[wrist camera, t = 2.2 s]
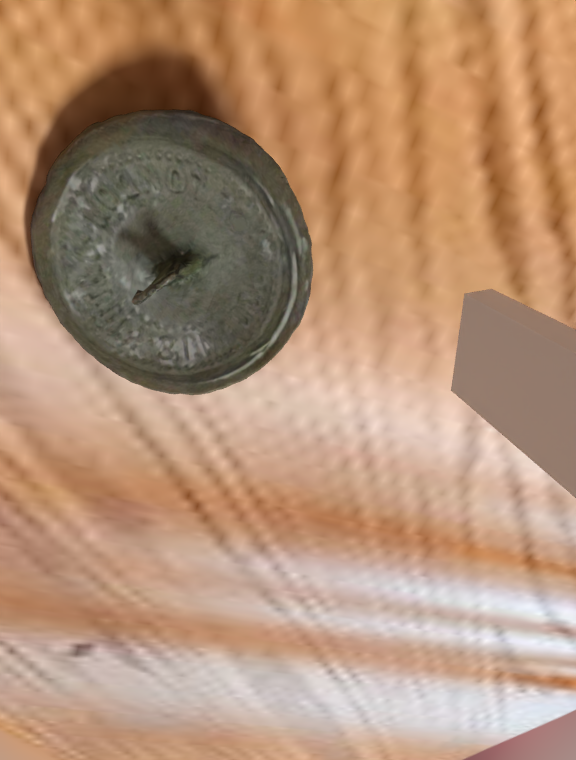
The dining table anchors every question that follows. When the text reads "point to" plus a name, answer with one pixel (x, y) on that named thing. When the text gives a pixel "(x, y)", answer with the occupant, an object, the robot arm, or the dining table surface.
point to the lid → (172, 250)
